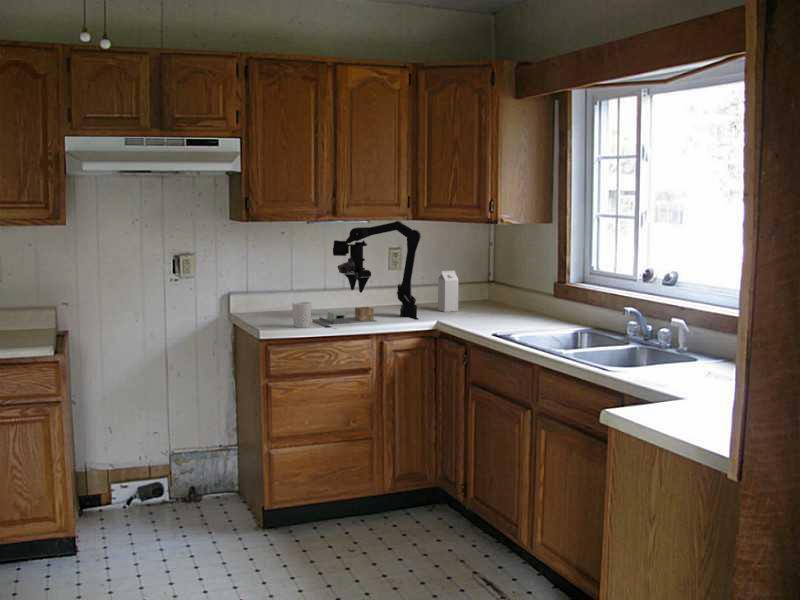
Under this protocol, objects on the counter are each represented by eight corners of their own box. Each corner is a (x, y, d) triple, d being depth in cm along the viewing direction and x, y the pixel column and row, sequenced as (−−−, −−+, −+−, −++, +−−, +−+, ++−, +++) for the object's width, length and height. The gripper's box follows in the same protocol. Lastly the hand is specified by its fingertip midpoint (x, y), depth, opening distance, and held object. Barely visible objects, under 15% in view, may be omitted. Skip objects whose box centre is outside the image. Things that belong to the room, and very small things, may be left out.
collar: (367, 318, 388) (367, 306, 387) (373, 320, 382) (373, 308, 382) (355, 319, 385) (355, 307, 384) (360, 321, 380) (360, 309, 379)
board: (363, 318, 394) (363, 307, 394) (378, 324, 380) (378, 311, 379) (312, 322, 384) (312, 310, 383) (325, 327, 370) (325, 315, 369)
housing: (340, 319, 381) (340, 310, 381) (346, 322, 375) (346, 312, 375) (327, 320, 379) (327, 311, 378) (333, 323, 373) (333, 313, 372)
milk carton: (437, 310, 421) (438, 270, 419) (450, 309, 424) (451, 269, 422) (444, 312, 415) (445, 271, 412) (458, 311, 418) (458, 271, 415)
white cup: (302, 324, 378) (301, 301, 377) (315, 326, 373) (315, 302, 372) (288, 326, 372) (288, 303, 371) (301, 328, 367) (301, 304, 366)
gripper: (331, 255, 397) (331, 289, 399) (348, 258, 381) (347, 294, 383) (354, 254, 402) (354, 288, 404) (371, 257, 385) (371, 293, 387)
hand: (356, 291), depth 394 cm, fingers open, 9 cm apart
